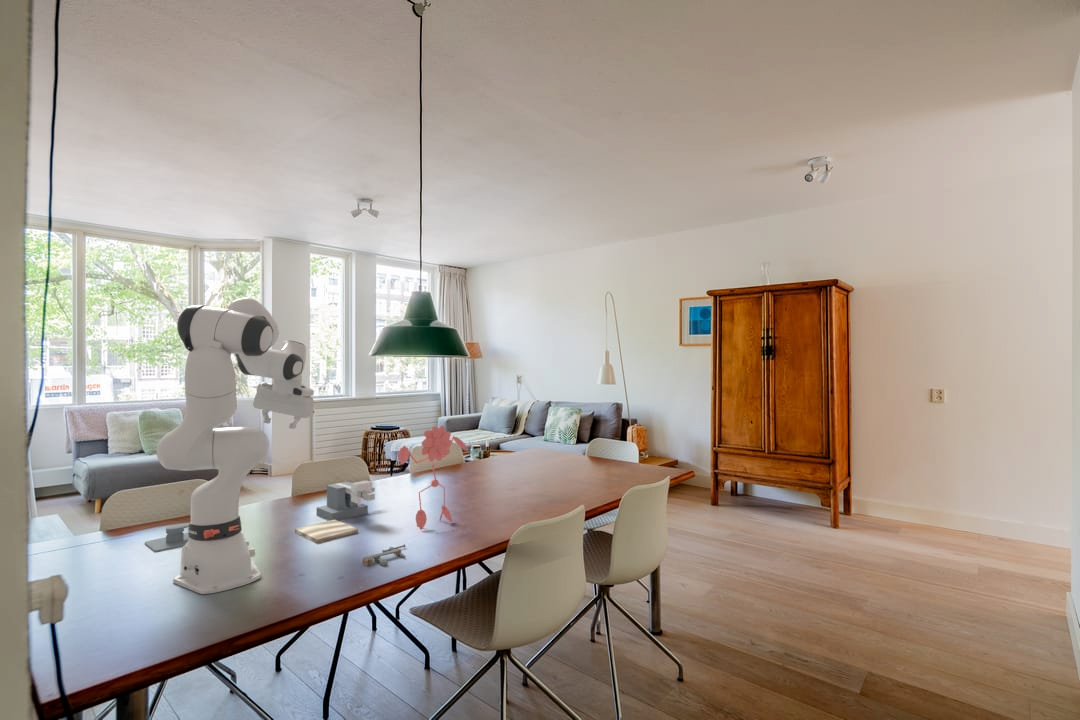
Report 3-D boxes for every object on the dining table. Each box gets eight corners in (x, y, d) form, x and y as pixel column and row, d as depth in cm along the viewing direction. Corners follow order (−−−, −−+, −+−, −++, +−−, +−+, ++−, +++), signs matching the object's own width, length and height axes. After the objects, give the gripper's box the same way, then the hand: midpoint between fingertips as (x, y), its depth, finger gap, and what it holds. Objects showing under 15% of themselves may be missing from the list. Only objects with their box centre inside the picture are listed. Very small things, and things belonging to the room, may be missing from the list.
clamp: (370, 563, 144) (355, 553, 151) (370, 571, 144) (355, 561, 151) (420, 550, 154) (404, 541, 161) (420, 557, 154) (404, 549, 161)
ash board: (358, 532, 175) (358, 528, 175) (316, 543, 165) (316, 539, 165) (334, 522, 186) (334, 519, 186) (294, 532, 176) (294, 528, 176)
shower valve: (211, 524, 169) (154, 535, 157) (211, 541, 168) (154, 553, 157) (198, 516, 177) (143, 527, 165) (198, 533, 177) (143, 544, 165)
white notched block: (372, 500, 188) (372, 481, 188) (356, 503, 184) (356, 484, 184) (366, 498, 191) (366, 480, 191) (351, 501, 186) (351, 483, 186)
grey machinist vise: (404, 517, 192) (404, 487, 192) (353, 530, 177) (353, 498, 177) (365, 504, 210) (365, 477, 210) (316, 515, 195) (316, 485, 195)
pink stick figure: (393, 530, 177) (393, 427, 178) (457, 515, 195) (457, 421, 195) (415, 541, 166) (415, 431, 166) (482, 525, 183) (481, 425, 184)
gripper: (253, 381, 181) (245, 420, 181) (309, 392, 179) (302, 432, 179) (264, 380, 187) (257, 418, 187) (318, 391, 185) (311, 430, 186)
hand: (279, 425), depth 183 cm, fingers open, 8 cm apart
